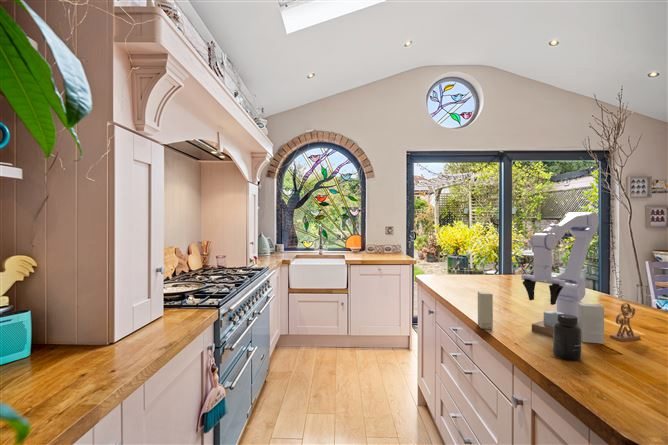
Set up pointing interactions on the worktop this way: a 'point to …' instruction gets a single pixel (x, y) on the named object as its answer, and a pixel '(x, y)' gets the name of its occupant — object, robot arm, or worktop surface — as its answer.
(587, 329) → the skincare box
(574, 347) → the supplement bottle
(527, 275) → the robot arm
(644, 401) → the worktop surface
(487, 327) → the box
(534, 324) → the walnut block
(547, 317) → the slate cube
